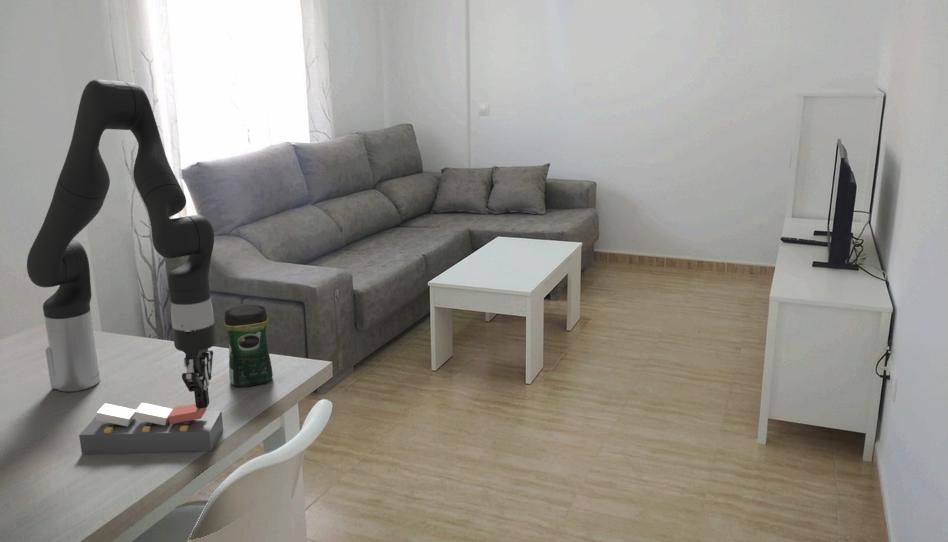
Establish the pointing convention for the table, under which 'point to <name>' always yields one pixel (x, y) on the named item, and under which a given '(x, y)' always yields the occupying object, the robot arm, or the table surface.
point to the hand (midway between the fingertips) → (202, 406)
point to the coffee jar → (248, 344)
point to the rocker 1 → (115, 414)
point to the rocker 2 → (152, 413)
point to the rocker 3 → (185, 413)
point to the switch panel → (152, 436)
